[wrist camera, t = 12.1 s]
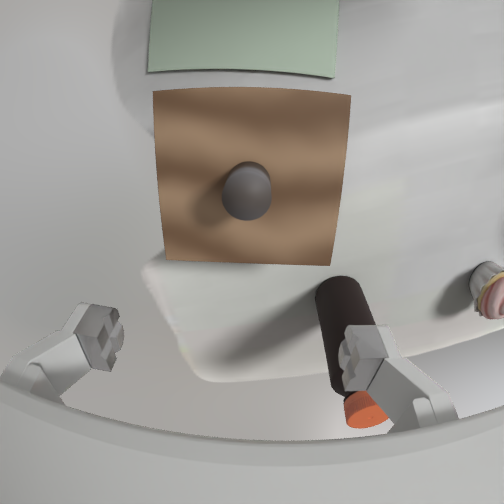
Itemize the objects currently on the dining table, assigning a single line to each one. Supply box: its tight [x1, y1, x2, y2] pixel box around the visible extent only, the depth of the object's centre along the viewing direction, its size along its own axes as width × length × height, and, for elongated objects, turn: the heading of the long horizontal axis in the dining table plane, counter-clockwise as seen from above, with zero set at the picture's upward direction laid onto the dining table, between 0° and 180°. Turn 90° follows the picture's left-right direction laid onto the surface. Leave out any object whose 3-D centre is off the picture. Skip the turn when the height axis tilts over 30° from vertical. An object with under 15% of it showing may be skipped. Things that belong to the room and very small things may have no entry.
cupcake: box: [469, 261, 504, 319], centre depth 36 cm, size 9×9×10 cm
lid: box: [153, 87, 351, 266], centre depth 24 cm, size 16×16×5 cm
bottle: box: [315, 276, 389, 428], centre depth 34 cm, size 7×7×20 cm
